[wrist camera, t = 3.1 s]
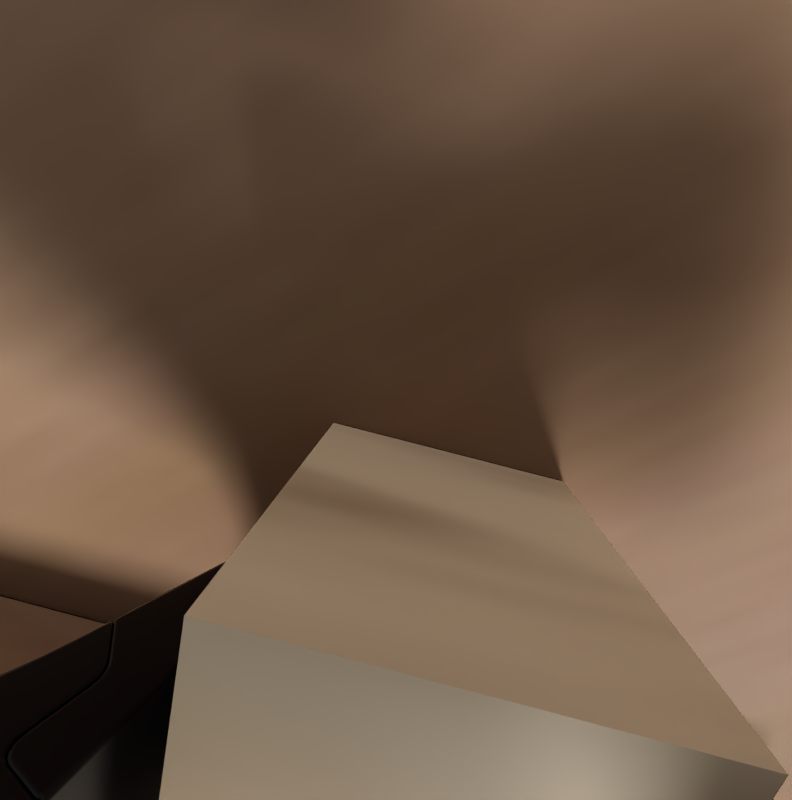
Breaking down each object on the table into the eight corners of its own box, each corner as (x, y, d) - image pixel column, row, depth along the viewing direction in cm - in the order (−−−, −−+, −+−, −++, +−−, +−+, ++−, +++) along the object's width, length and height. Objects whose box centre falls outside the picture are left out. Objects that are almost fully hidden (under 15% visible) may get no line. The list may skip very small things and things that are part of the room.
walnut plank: (672, 949, 12) (727, 1096, 9) (-266, 695, 12) (-417, 781, 10) (769, 799, 10) (861, 933, 8) (-303, 516, 10) (-489, 570, 8)
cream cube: (479, 705, 10) (538, 1159, 5) (283, 654, 10) (125, 1044, 5) (563, 481, 9) (787, 774, 3) (333, 422, 9) (183, 615, 3)
